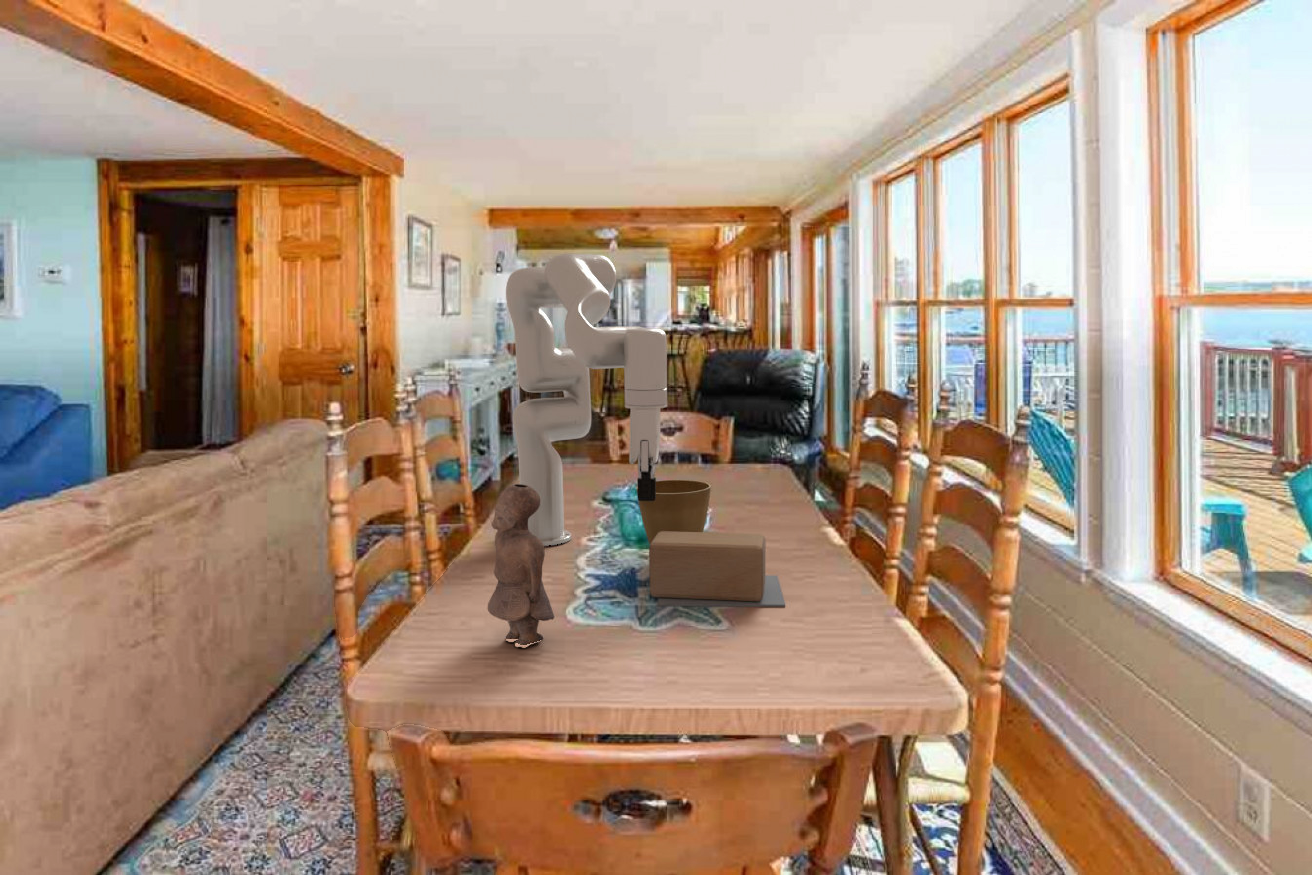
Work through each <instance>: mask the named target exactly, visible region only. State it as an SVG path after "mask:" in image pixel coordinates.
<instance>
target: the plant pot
mask: <svg viewBox="0 0 1312 875" xmlns="http://www.w3.org/2000/svg"><path fill="white" fill-rule="evenodd" d="M635 489H636V495H637V496H638V485H637V486H636V488H635ZM711 489H712V486H711V484H710V483H708V482H705V481H700V480H694V479H693V480H692V479H691V480H690V479H661V480H656V499H655V501H639V500H638V499H637V502H638V505H639V506H638V507H639V510H640V511H639V512H640V515H641V520H642V523H643V527H644V531H645V535H646V537H647V541H648V544H649V545H650V544H651V543H652V541H653V540H654V538H655V537H656V535H657V534H658V532H661V531H673V532H704V530H705V526H706V521H707V516H708V510H709V504H710V498H711Z"/></svg>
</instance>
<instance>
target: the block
mask: <svg viewBox="0 0 1312 875" xmlns="http://www.w3.org/2000/svg"><path fill="white" fill-rule="evenodd" d="M766 545H767V544H766V537H765V535H764V534H761V533H741V532H739V533H738V532H737V533H734V532H729V533H728V532H706V531H705V532H704V531H703V532H673V531H661V532H658V534H657V535H656V537H655V538H654V540H653V541H652V543H651V544H649V548H648V554H649V556H648V558H649V559H648V560H649V562H648V564H649V566H648V568H649V569H648V570H649V573H648V574H649V578H648V579H649V593H650V595H651V597H653V598H659V597H663V598H687V599H711V600H734V601H760V600H762V597H763V594H764V587H765V575H766Z"/></svg>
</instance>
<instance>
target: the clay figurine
mask: <svg viewBox="0 0 1312 875" xmlns="http://www.w3.org/2000/svg"><path fill="white" fill-rule="evenodd" d="M539 507H540V497H539V495H538V493H537V492H536V491H535V490H534V489H533V488H531V487H530V486H527V485H523V484H520V483H515V484H512V485H510V486H508V487H506V488H505V489H504V490H503V491H502V492H501V494H500V496H499V498H498V501H497V503H496V504H495V507H494V517H493V519H492V521H491V527H492V528H493V529H494V530H497V532H495V536H494V544H495V550H496V556H495V563H494V569H493V570H494V571H493V572H494V576H495V579H496V580H497V583H496V587H495V589H494V590H493V593H492V595H491V596H490V599H489V601H488V603H487V608H486V609H487V611H488V613H489V614H490V615H491V616H493V617H495V618H496V619H499V620H502V621H506V622H507V623H508V627H509V631H508V632H507V635H505V638H506V639H518V640H516V641H515V642H516V643H518V644H520V645H527V644H530V643H534V642H537V641H540V640H542V641H544V638H545V637H544V636H543V635H542V634H541V633H538V628H539V622H540V621H542V622H546V621H550V620H554V619H555V614H554V611H553V607H552V605H551V602H550V599H549V597H548V594H547V592H546V588H545V586H544V583H543V564H544V561H545V554H546V551H545V546H544V545H543V543H542V541H541V540H540V539H539V538H537V537H536V536H534V535H533V534H532V533H531V532H530V531H529V529H528V519H529V517H530V516H531V515H533V514H534V513H535V512H536V511H537V510H538V508H539Z"/></svg>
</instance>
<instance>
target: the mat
mask: <svg viewBox="0 0 1312 875" xmlns="http://www.w3.org/2000/svg"><path fill="white" fill-rule="evenodd" d="M657 599H658V600H657V607H729V608H730V607H733V608H734V607H735V608H736V607H741V608H743V607H744V608H747V607H748V608H750V607H751V608H752V607H756V608H758V607H760V608H765V607H767V608H768V607H770V608H771V607H772V608H773V607H774V608H775V607H776V608H777V607H778V608H785V607H786V602H785V599H784V595H783V591H782V587H781V583H780V580H779V576H778V575H776V574H774V575H773V574H771V575H770V574H769V575H768V574H767V575H766V574H765V587H764V594H763V597H762V600H760V601H734V600H711V599H687V598H663V597H657Z"/></svg>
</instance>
